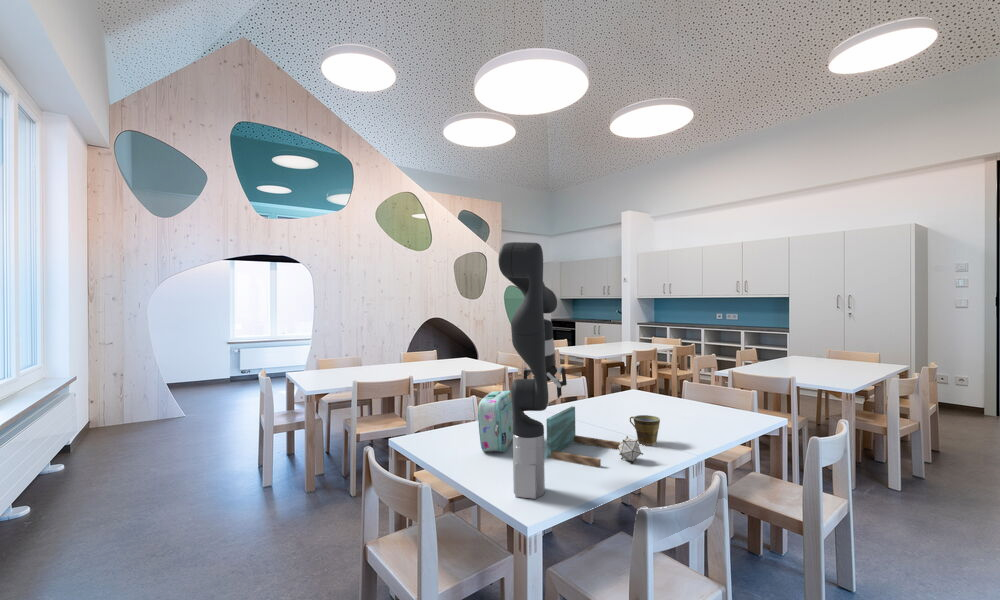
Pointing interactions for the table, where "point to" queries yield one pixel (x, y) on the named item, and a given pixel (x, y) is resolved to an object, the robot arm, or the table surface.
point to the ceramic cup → (646, 429)
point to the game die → (629, 449)
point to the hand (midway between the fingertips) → (545, 397)
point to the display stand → (570, 439)
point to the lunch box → (495, 421)
